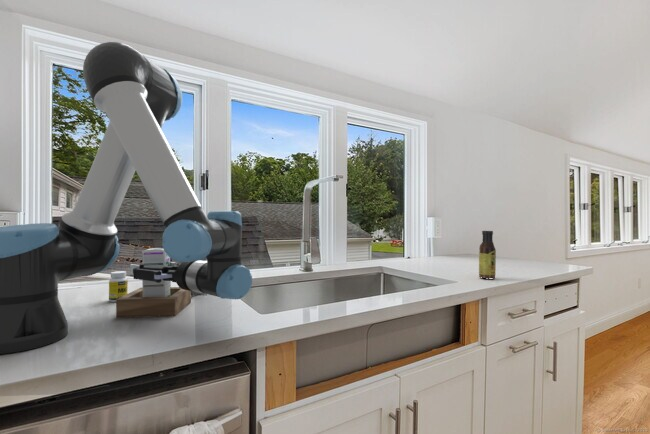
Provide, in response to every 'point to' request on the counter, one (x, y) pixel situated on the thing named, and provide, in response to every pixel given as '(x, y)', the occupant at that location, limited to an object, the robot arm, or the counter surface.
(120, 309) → the open brown wooden box
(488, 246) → the sauce bottle
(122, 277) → the supplement bottle
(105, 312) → the counter surface
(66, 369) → the counter surface
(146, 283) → the syrup box
